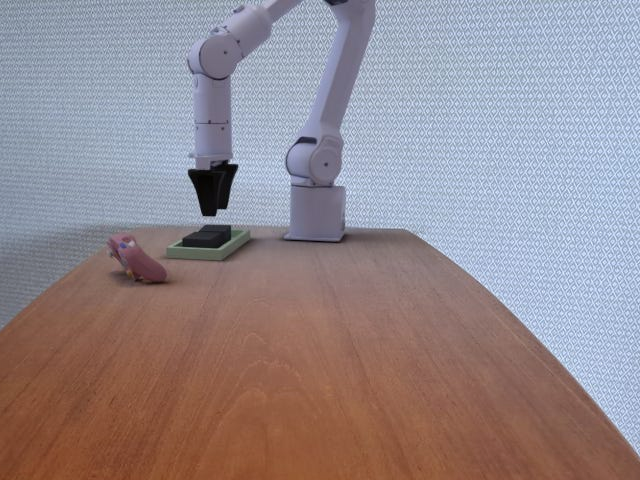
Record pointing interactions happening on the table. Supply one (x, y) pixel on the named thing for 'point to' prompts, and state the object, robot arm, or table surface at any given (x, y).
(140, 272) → the video game controller
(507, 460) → the table surface
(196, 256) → the holder
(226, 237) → the pad loose
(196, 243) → the pad seated
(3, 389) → the table surface
